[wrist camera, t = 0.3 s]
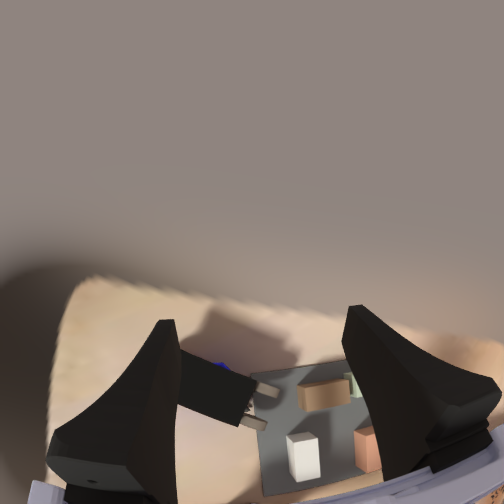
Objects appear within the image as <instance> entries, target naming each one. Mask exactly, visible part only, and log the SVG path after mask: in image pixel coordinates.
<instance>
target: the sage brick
mask: <svg viewBox="0 0 504 504" xmlns="http://www.w3.org/2000/svg"><path fill="white" fill-rule="evenodd" d="M343 376H344V379H346V380H349V389H350V396H352V397H356V398H358V397H363V396H362V394H361V391H360V389H359V387H358V385H357V382H356V380H355V378H354V376H353V374H352V372H349V373H344V374H343Z"/></svg>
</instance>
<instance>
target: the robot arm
mask: <svg viewBox="0 0 504 504" xmlns="http://www.w3.org/2000/svg"><path fill="white" fill-rule="evenodd" d="M341 342H342V346H343V349H344V353H345V356H346V359H347V362H348V364H349V367H350V369H351V371H352V374H353V376H354V378H355V380H356V382H357V385H358V387H359V389H360V391H361V394H362V396H363V398H364V400H365V403H366V406H367V408H368V411H369V415H370V418H371V422H372V425H373V429H374V433H375V437H376V441H377V445H378V450H379V455H380V460H381V466H382V473H383V480H384V482H382V483H379V484H376V485H373V486H369V487H366V488H362V489H358V490H355V491H351V492H347V493H343V494H338V495H334V496H329V497H325V498H320V499H315V500H309V501H303V502H297V503H291V504H474V503H475V502H477V501H479V500H480V499H482V498H484V497H485V496H487V495H488V494H490V493H491V492H493V491H495V490H496V489H498V488H499V487H501V486H502V485H503V484H504V423H503V424H501V425H500V426H498V427H496V428H495V429H493V430H492V431H491V432H490V433H489V432H488V430H487V427H488V426H489V422H488V421H487V419H486V418H487V417H488V416H489V415H490V413H491V412H492V411H493V410H494V408H495V407H496V406H497V404H498V403H499V401H500V399H501V396H502V391H501V390H500V388H499V387H498V386H497V384H496V383H495V381H494V380H493V378H491V377H487V376H483V375H479V374H476V373H472V372H469V371H466V370H464V369H461V368H458V367H456V366H453V365H451V364H449V363H447V362H444V361H442V360H440V359H438V358H436V357H434V356H432V355H431V354H429V353H427V352H426V351H424V350H422V349H420V348H419V347H417V346H416V345H414V344H413V343H411V342H410V341H408V340H407V339H405V338H404V337H403V336H401V335H400V334H399V333H397V332H396V331H395V330H393V329H392V328H391V327H390V326H388V325H387V324H386V323H384V322H383V321H382V320H381V319H380V318H378V317H377V316H376V315H374V314H373V313H372V312H371V311H369V310H368V309H367V308H366V307H364V306H363V305H355V306H349V308H348V313H347V318H346V323H345V327H344V332H343V337H342V341H341ZM180 381H181V350H180V346H179V341H178V336H177V332H176V327H175V322H174V319H167V320H159V321H158V322H157V323H156V325H155V327H154V328H153V330H152V332H151V333H150V335H149V337H148V338H147V340H146V341H145V343H144V345H143V346H142V348H141V349H140V351H139V352H138V353H137V355H136V356H135V358H134V359H133V360H132V362H131V363H130V364H129V366H128V367H127V368H126V370H125V371H124V372H123V373H122V375H121V376H120V377H119V378H118V379H117V380H116V382H115V383H114V384H113V385H112V386H111V387H110V388H109V389H108V390H107V391H106V392H105V393H104V394H103V395H102V396H101V397H100V398H99V399H98V400H96V401H95V402H94V403H93V404H92V405H91V406H89V407H88V408H87V409H86V410H84V411H83V412H82V413H80V414H79V415H78V416H76V417H75V418H73V419H72V420H70V421H69V422H67V423H65V424H64V425H62V426H61V427H59V428H57V429H55V431H54V433H53V436H52V438H51V442H50V445H49V449H48V453H47V456H46V463H47V465H48V466H49V467H50V468H51V470H52V471H54V472H55V473H56V474H57V475H58V476H59V477H60V478H62V479H63V480H64V481H65V482H66V483H67V485H66V490H65V489H63V488H60V487H58V486H55V485H51V484H47V483H44V482H40V481H37V480H33V482H32V486H31V490H30V494H29V499H28V504H178V500H177V488H176V472H175V420H176V412H177V404H178V396H179V389H180ZM253 504H256V503H253Z"/></svg>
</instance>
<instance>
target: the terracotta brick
mask: <svg viewBox="0 0 504 504" xmlns="http://www.w3.org/2000/svg"><path fill="white" fill-rule="evenodd" d="M354 444H355V466H357V467H358V468H360V469H361V470H363V471H364V472H366V473H370V472H373V471H376V470H379V469H381V468H382V466H381V460H380V455H379V450H378V445H377V441H376V437H375V433H374V429H373V426H369V427H366V428H362V429H359V430H355V431H354Z"/></svg>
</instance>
